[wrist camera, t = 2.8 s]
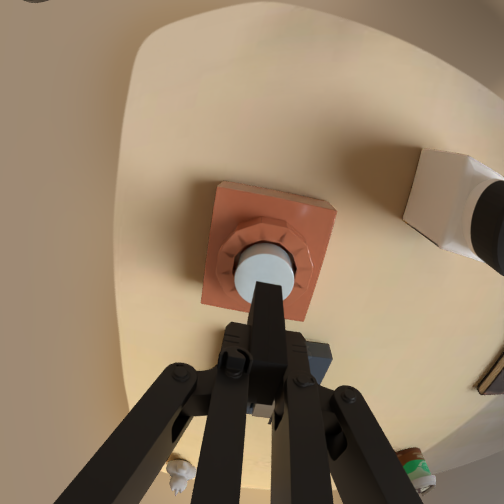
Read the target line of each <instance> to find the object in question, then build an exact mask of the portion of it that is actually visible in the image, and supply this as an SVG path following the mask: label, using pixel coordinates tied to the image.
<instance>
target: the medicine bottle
mask: <svg viewBox="0 0 504 504" xmlns="http://www.w3.org/2000/svg"><path fill="white" fill-rule="evenodd" d="M403 221H404V222H405V223H407V224H408V225H409V226H411V227H412V228H414V229H415V230H416V231H418V232H419V233H420V234H422V235H423V236H425V237H426V238H427V239H429V240H430V241H431V242H433V243H434V244H435V245H437V246H438V247H439V248H440V249H444V250H447V251H450V252H453V253H456V254H459V255H462V256H466V257H469V258H472V259H475V260H478V261H481V262H484V263H486V264H488V265H489V266H490V267H492V268H493V269H494V270H496V271H497V272H498V273H499V274H501V275H502V276H504V177H503V176H502V175H500V174H499V173H497V172H496V171H494V170H492V169H491V168H489V167H487V166H486V165H484V164H483V163H481V162H479V161H477V160H476V159H474V158H472V157H471V156H469V155H464V154H459V153H453V152H448V151H441V150H435V149H428V148H423V149H422V151H421V155H420V159H419V163H418V167H417V171H416V174H415V178H414V182H413V185H412V189H411V192H410V196H409V199H408V203H407V206H406V209H405V212H404V215H403Z"/></svg>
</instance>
